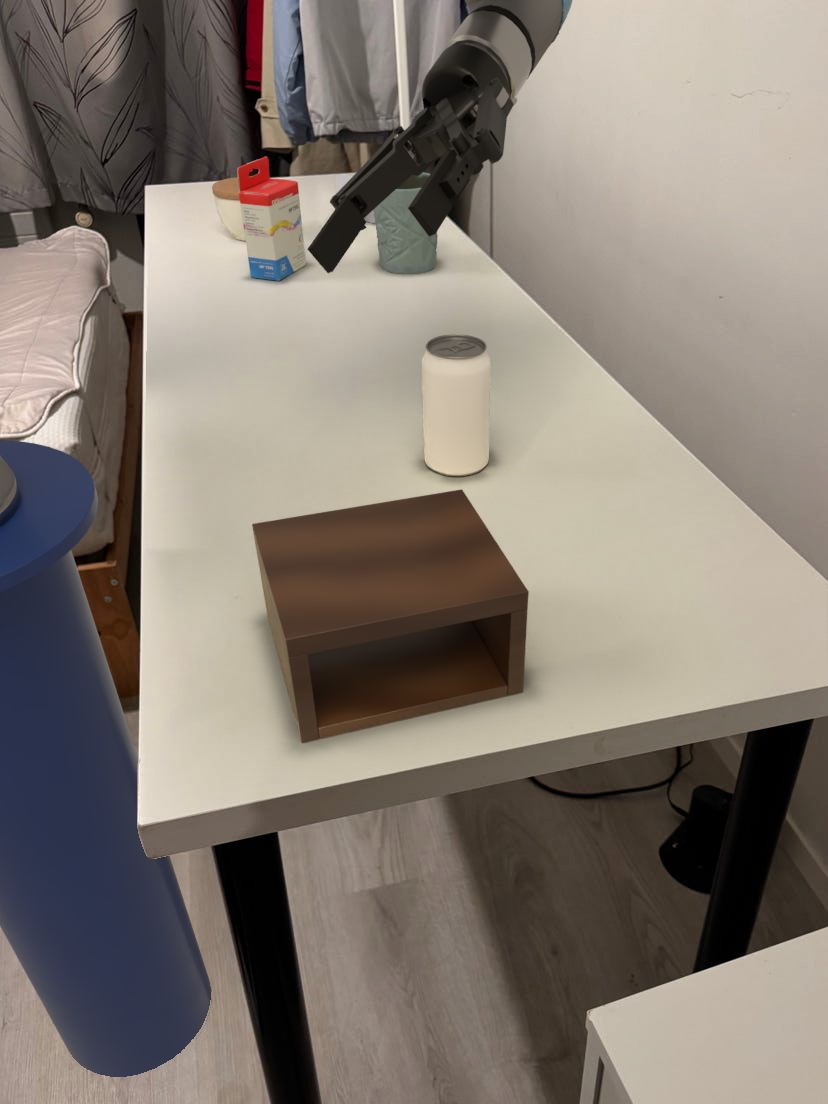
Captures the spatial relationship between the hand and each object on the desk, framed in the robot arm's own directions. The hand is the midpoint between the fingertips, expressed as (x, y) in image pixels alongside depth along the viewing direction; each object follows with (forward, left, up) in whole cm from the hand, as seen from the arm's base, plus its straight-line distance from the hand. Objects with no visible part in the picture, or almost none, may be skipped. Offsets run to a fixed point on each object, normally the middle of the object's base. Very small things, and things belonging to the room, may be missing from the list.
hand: (367, 242), depth 77 cm
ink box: (-64, +1, -22) cm, 68 cm away
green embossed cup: (-61, +20, -22) cm, 68 cm away
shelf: (+27, -6, -22) cm, 35 cm away
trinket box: (-83, 0, -22) cm, 86 cm away
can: (0, +8, -22) cm, 23 cm away
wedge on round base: (-88, +22, -22) cm, 93 cm away
